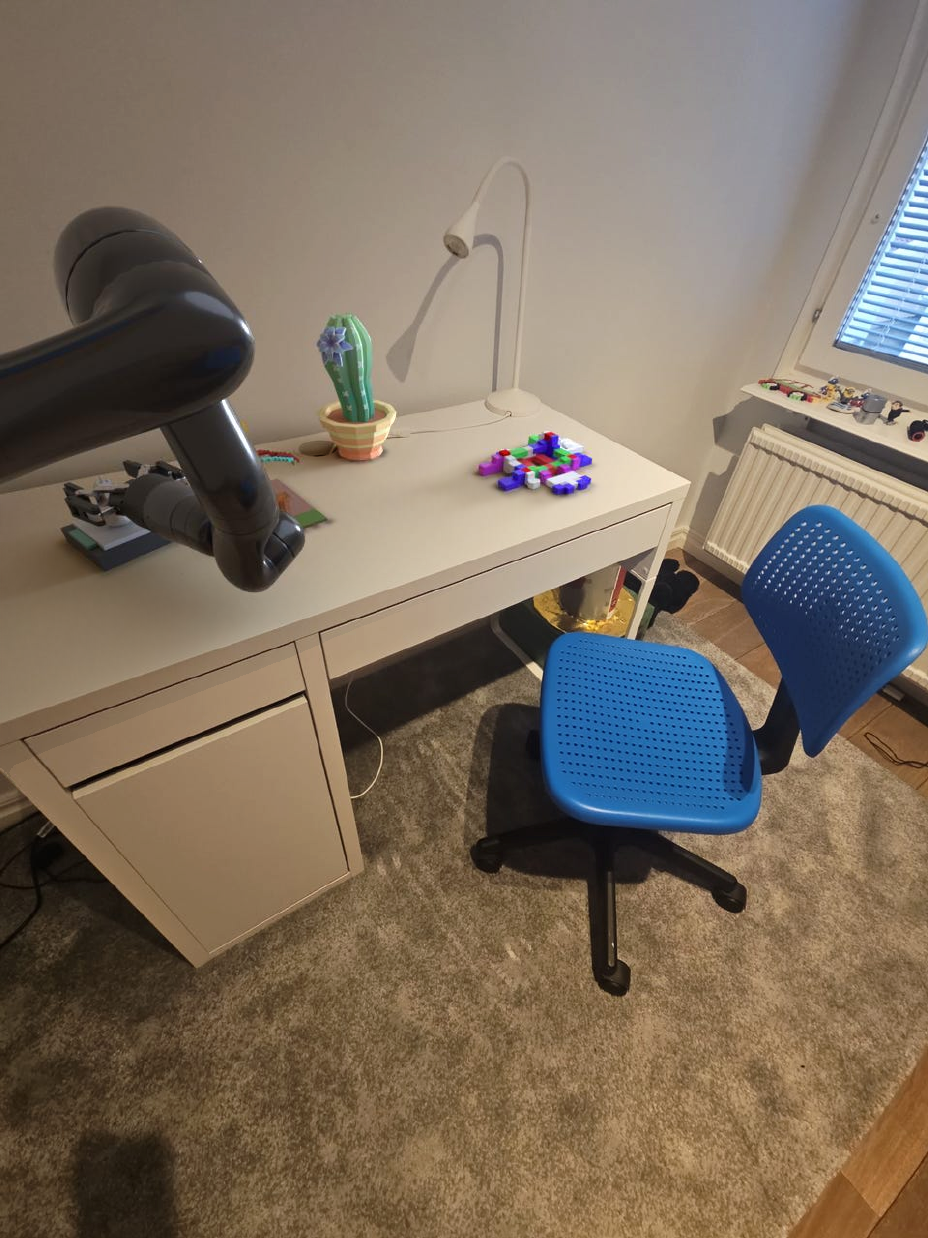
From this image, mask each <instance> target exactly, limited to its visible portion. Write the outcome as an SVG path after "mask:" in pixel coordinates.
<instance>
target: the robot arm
mask: <svg viewBox="0 0 928 1238" xmlns="http://www.w3.org/2000/svg"><path fill="white" fill-rule="evenodd" d="M52 255H53V257H52V276H53V282H54V285H55V290H56V292H57V296H58V299H59V301H60V304H61V306H62V308H63V310H64V312H65V314H66V316H67V318H68V320H69V321H70V323H71V325H72V326H73V327H70V328H68V329H67V330H64V331H62V332H59V333H56V334H54V335H51V336H47V337H45V338H43V339H40V340H37V341H34V342H32V343H29V344H26V345H23V346H20V347H17V348H15V349H11V350H7V351H4V352H0V486H1V485H3V484H6V483H9V482H11V481H13V480H16V479H18V478H21V477H23V476H25V475H28V474H30V473H33V472H35V471H37V470H40V469H42V468H45V467H48V466H50V465H53V464H55V463H58V462H61V461H63V460H66V459H68V458H71V457H74V456H77V455H81V454H83V453H86V452H89V451H92V450H95V449H98V448H102V447H104V446H107V445H110V444H113V443H117V442H120V441H122V440H126V439H130V438H132V437H136V436H138V435H142V434H145V433H148V432H152V431H154V430H157V429H159V430H160V432H161V434H162V436H163V437H164V439H165V441H166V443H167V444H168V447H169V448H170V450H171V452H172V454H173V456H174V457H175V459H176V462H177V463H178V465H179V467H180V468H179V467H177V466H175V465H172V464H170V463H168V462H166V461H164V460H158V461H155V462H154V465H150V464H149V463H145V464H143V463H139V462H137V461H132V460H129V459H126V460H124V461H122V465H123V468H124V471H125V472H126V474H127V475H128V476H129V477H132V478H131V479H129V480H126V481H125V482H122V483H117V484H115V485H110V486H97V487H96V488H95V489H93V488H87V489H85V488H83V487H81V486H80V485H77V484H76V483H73V482H71V481H67V482H65V483H64V484H63V488H62V490H63V492H64V494H65V496H66V497H65V498H63V500H64V502H65V504H66V505H67V507H68V509H69V511H70V514H71V516H72V517H73V518H75V519H77V520H79V519H80V520H83V521H85V522H88V523H90V524H92V525H95V526H97V527H101V526H104V525H106V524H107V523H106V521H105V518H107V517H109V516H111V515H113V514H115V515H117V516H126V517H127V518H128V519H130V520H131V521H132V522H133V523H135V524H136V525H138V526H140V527H142V528H144V529H146V530H148V531H150V532H153V533H155V534H157V535H159V536H161V537H163V538H165V539H167V540H170V541H172V543H175V544H180V545H183V546H185V547H187V548H189V549H192V550H193V551H196V552H197V553H200V554H201V555H204V556H207V557H211V558H214V561H215V562H216V565H217V568H218V569H219V571H220V572H221V574H222V576H223V577H224V578H225V579H226V580H227V582H229V583H230V584H232V586H233V587H235V588H237V589H238V590H240V591H242V592H247V593H262V592H265V591H266V590H268V589H270V588H271V587H272V586H273V585H274V584H275V583H276V582H277V581H278V580H279V578H280V577H281V576H282V574H283V573H284V572H285V571H286V570H287V568H288V567H290V565H291V564H292V562H294V560H295V559H296V558H297V557H298V555H299V554H300V553H301V552H302V550H303V548H305V547H304V546H305V544H306V534H305V531H304V530H305V529H303V528H302V526H301V525H300V523H299V522H298V521H297V520H296V519H295V518H294V517H293V516H292V515H290V514H289V513H287V512H285V511H284V510H282V509H279V506H278V502H277V499H276V496H275V494H274V491H273V488H272V485H271V482H270V481H271V480H270V477H269V474H268V472H267V469H266V467H265V465H264V462H262V460H261V458H260V457H259V455H258V453H257V449H256V447H255V445H254V443H253V442H252V440H251V438H250V435H249V433H248V434H247V433H246V431H245V429H244V427H243V426H242V424H241V422H242V421H241V420H240V418H239V417H238V415H237V413H236V412H235V409H234V408H233V405H232V403H231V402H230V400H229V397H231V396H232V395H233V394H234V393H235V392H236V391H237V390H238V389H239V388H240V387H241V385H242V384H243V383H244V382H245V380H246V379H247V377H248V376H249V374H250V372H251V369H252V367H253V365H254V362H255V356H256V355H255V354H256V342H255V336H254V334H253V331H252V329H251V326H250V324H249V322H248V321H247V319H246V317H245V315H244V314H243V313H242V311H241V310H240V309H239V308H238V306H237V305H236V303H235V302H234V301H233V299H232V298H231V296H230V295H229V294H228V293H227V292H226V290H225V289H224V288H223V287H222V286H221V285H220V284H219V282H218V281H217V280H216V279H215V277H214V276H213V275H212V274H211V272H209V270H208V269H207V268H206V266H204V264H203V263H202V261H201V260H200V259H199V257H198V256H197V255H196V253H194V251H193V250H192V249H191V248H190V247H189V246H188V245H187V244H186V242H184V241H183V240H182V239H181V238H180V237H179V236H177V234H176V233H175V232H173V231H172V230H171V229H170V228H168V227H167V226H165V225H164V224H162V222H160V221H159V220H157V219H155V218H154V217H152V216H150V215H149V214H146V213H144V212H142V211H140V210H137V209H133V208H130V207H125V206H118V205H102V206H97V207H92V208H88V209H85V210H84V211H82V212H79V213H78V214H77V215H76V216H74V217H73V218H72V219H70V220H69V221H68V222H67V223H66V224H65V226H64V227H63V228H62V230H61V231H60V232H59V235H58V237H57V239H56V243H55V245H54V248H53V254H52ZM248 435H249V436H248ZM104 493H109V499H108V500H107V498H106V496H105V494H104ZM91 498H94V499H95V501H96V502H95V501H94V502H92V501H91Z"/></svg>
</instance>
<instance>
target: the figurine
mask: <svg viewBox="0 0 928 1238" xmlns="http://www.w3.org/2000/svg"><path fill="white" fill-rule="evenodd" d="M240 422H241V424H242V426H243V427H244V429H245V431H246V433H247V434H248V436H249V437H250V435H249V431H248V427H247V424H246V422H244V421H240ZM256 451H257V453H258V455H259V457H260V458H261V460H262V462H263V463H267V462H270V463H273V462H280V463H282V462H284V463H290V464H291V465H293V466H294V467H296V466H298V463H300V459H299V458H298V457H297V456H295V455H294V454H292V453H291V452H286V451H274V450H272V451H271V450H269V449H256ZM266 455H268V457H266ZM270 482H271V485H272V488H273V491H274V494H275V496H276V499H277V502H278V506H279V509H282V510H284V511H285V512H287V513H289V514H290V515H292V516H293V517H294V518H295V519H296V520H297V521H298V522H299V523H300V525H301V526H302V528H303V530H305V529H307V528H310V527H313V526H315V525H318V524H321V523H324V522H327V521H328V517H327V516H325V515H324V514H323V513H322V512H320V511H319V510H317V508H315V507H314V506H313V505H311V504H310V503H309V502H308V501H306V500H305V499H304V498H302V497H301V496H300V495H299V494H298V493H296V492H295V491H294V490H293V489H291V488H290V487H289V486H288V485H286V484H285V483H284V482H282V481H281V480H280V479H278V478H275V479H271V480H270Z"/></svg>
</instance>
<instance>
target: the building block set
mask: <svg viewBox="0 0 928 1238" xmlns="http://www.w3.org/2000/svg"><path fill="white" fill-rule="evenodd" d="M527 440H528V441H527V445H525V446H519V447H516V448H512V449H510V448H502V449H498V451H496V452H495V454H492V455H491V460H489V461H486V462H482V463H479V464H478V470H477V471H478V473H479V474H480V475H481V476H483V477H484V476H488V475H491V474H495V473H498V472H501V471H503V472H504V473H506V474H511V473H512V475H509V476H507V477H503V478H499V479H497V487H498V488H500V489H502V490H503V491H505V492H508V491H511V490H514V489H517V488H520V486H522V485H526V486H527V489H531V490H535V489H538V488H540V487H541V483H542V484H544V485H546V486H548V487H549V488H550V489H551V492H552V493H554V494H556V495H557V496H559V495H561V494H564V493H565V495H571V494H573V493H574V492H575V490H576V489H578V490H580V491H581V490H585V489H588V486H589V485H591V484H592V483H591V482H592V477H590V476H588V475H586V474H584V475H581V474H579V473H578V472H576V471H578V470H580V468H582V467H587V466H589V465H591V464H592V462H593V458H592V457H591V456H588V455H586V454H583V453H582V452H583V451H584V446H583V445H581V444H580V443H578V442H576V441H574V440H571V439H570V438H567V437H566V438H563V439H562V437H560V436H559V435H558V434H556V433H554V432H552V431H550V430H544V431H542V432H539V433H538V434H532V435H528V439H527ZM533 462H535V464H538V465H539V466H538V465H535V464H534V463H533ZM554 475H555V476H554Z"/></svg>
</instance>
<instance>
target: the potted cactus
mask: <svg viewBox="0 0 928 1238" xmlns="http://www.w3.org/2000/svg"><path fill="white" fill-rule="evenodd" d="M315 344H316V347H317V348H318V353H320V356H321V361H322V365H323V367H324V369H325V370H326V372H327V374H328V376H329V378H330V380H331V382H332V383H333V386H334V389H335V392H336V395H337V398H338V400H337V401H334V402H331V403H328V404H325V405H323V406H322V407H321V408H320V409H319V410H317V412H316V414H317V417H318V420H319V422H320V424H321V426H322V428H323V429H326V431H327V433H328V435H329V437H330V439H331V441H332V442H333V444H334V445H335V446H336V447H337V448H338V449H337V450H338V452H337V453H338V454H339V456H340V457H341V458H345V459H347V460H352V461H365V460H373V459H375V458H377V457H379V456H381V454H382V453H383V451H384V450H383V447H382V445H383V443H384V442H385V440H386V439H387V437H388V435H389V433H390V429H391V426H392V425H393V424H394V422H395V420H396V416H397V411H396V410H395V408H394V407H393V406H392V405H391V404H389V403H386V402H383V401H380V400H378V399H374V394H373V393H374V392H373V388H372V381H371V376H372V369H373V341H372V338H371V337H370V334H369V332H368V331H367V329H366V328H365V326H364V325H363V323H361V321H360V320H359V319H358V317H357V316H356V315H355V314H352V315H351V313H350V312H346V313H345V314H344V315H343V314H340V313H339V312H338V313H335V316H333V315H330V317H329V319H328V321H327V323H326V325H325V327H324V329H323V331H322V332H321V333H320V334H319V339H318V340H317V342H316V343H315Z"/></svg>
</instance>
